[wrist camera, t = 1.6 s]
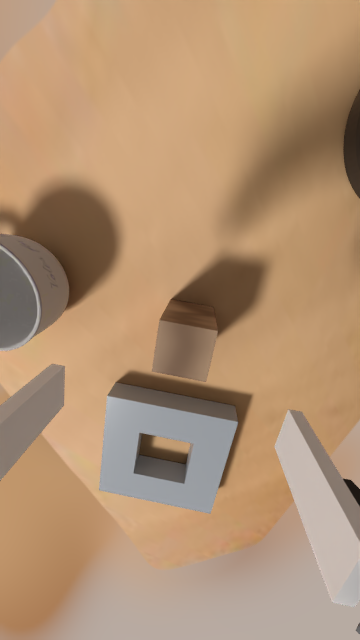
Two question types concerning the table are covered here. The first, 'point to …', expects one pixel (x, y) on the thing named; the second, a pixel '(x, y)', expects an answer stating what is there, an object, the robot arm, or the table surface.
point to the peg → (185, 340)
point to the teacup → (28, 290)
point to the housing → (173, 423)
